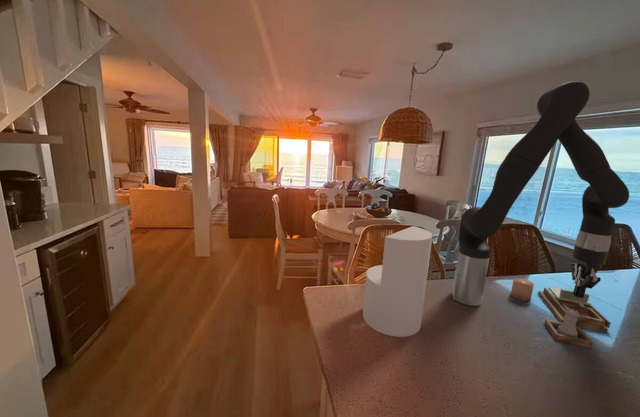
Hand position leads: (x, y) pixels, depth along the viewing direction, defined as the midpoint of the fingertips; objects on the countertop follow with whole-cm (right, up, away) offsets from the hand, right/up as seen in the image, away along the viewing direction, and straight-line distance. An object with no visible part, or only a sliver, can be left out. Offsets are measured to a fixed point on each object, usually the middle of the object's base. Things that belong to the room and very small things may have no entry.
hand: (578, 296), depth 87 cm
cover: (+3, -2, +6) cm, 7 cm away
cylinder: (-63, -5, -5) cm, 63 cm away
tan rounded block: (-10, -4, +12) cm, 16 cm away
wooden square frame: (-13, -8, -10) cm, 18 cm away
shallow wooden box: (0, -6, +3) cm, 7 cm away
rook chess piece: (-13, -8, -10) cm, 18 cm away
